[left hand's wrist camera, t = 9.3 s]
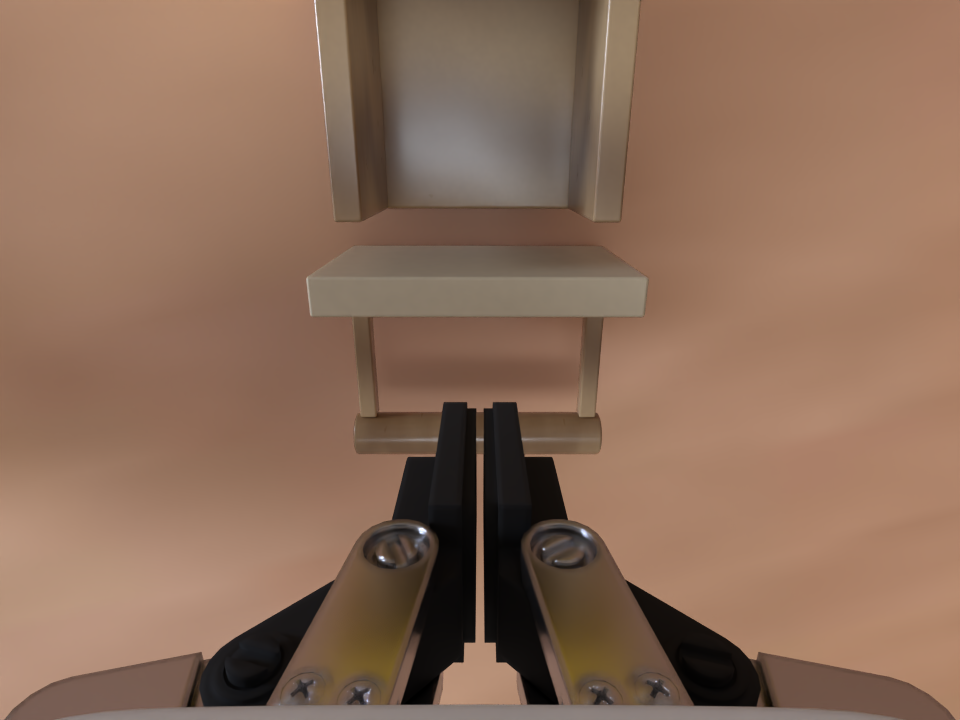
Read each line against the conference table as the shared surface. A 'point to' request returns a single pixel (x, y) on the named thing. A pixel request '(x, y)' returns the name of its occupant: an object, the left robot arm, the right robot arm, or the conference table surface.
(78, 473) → the conference table surface
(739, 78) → the conference table surface
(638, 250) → the conference table surface
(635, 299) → the drawer
